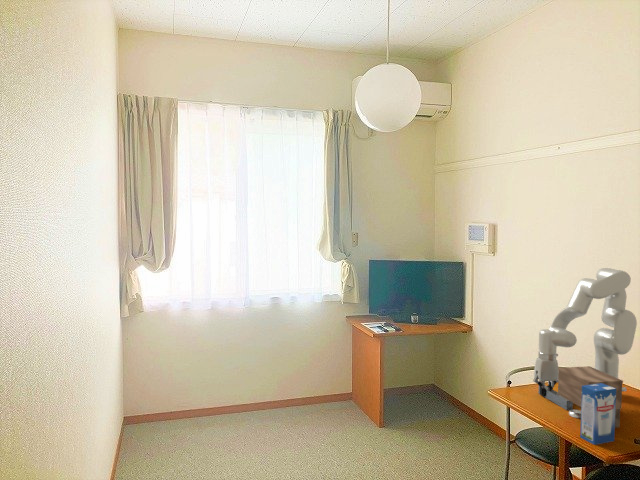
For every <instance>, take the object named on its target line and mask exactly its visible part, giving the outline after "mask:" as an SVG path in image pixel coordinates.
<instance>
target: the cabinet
mask: <svg viewBox="0 0 640 480" xmlns="http://www.w3.org/2000/svg"><path fill="white" fill-rule="evenodd" d="M558 370H559V377H558V382H557V383H558V385H557V392H558V395H560V396H562V397H564V398H565V399H567V400H569V401H571V402H573V405H576V406H578V407H579V408H581V400H582V386H584V385H591V384H599V383H603V384H605V385H608V386H611V387H613V388H616V409H615V429H616V428H620V425H621V423H620V422H621V421H620V420H621V410H622V401H623V399H622V398H623V392H622V387H623V384H624V380H622V379H619V377H618V378H616V377H613V376H611V375H609V374H606V373H604V372H602V371H599V370H597V369H595V367H592V366H566V367H565V366H564V367H558Z"/></svg>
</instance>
